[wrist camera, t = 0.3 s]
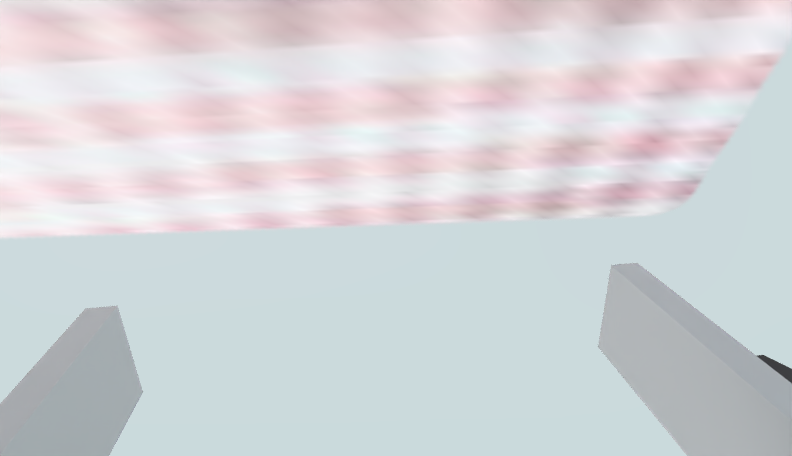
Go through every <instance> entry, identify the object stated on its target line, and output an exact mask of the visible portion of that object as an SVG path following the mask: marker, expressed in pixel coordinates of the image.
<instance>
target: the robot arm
mask: <svg viewBox="0 0 792 456" xmlns="http://www.w3.org/2000/svg"><path fill="white" fill-rule="evenodd" d="M598 347H599V349H600V350H601V351H602V352H603V354H604V355H605V356H606V357H607V358H608V359H609V361H610V362H611V363H612V365H613V366H614V367H615V368H616V369H617V371H618V372H619V373H620V374H621V375H622V376H623V378H624V379H625V380H626V381H627V383H628V384H629V385H630V386H631V388H632V389H633V390H634V391H635V392H636V394H637V395H638V396H639V397H640V399H641V400H642V401H643V402H644V403H645V405H646V406H647V407H648V408H649V410H650V411H651V412H652V413H653V414H654V416H655V417H656V418H657V419H658V421H659V422H660V423H661V424H662V425H663V427H664V428H665V429H666V430H667V431H668V433H669V434H670V435H671V436H672V438H673V439H674V440H675V441H676V442H677V443H678V445H679V446H680V447H681V448H682V450H683V451H684V452H685V453H686V454H687V456H792V369H791V368H789V367H786V366H785V365H783V364H781V363H778V362H777V361H775V360H772V359H770V358H768V357H766V356H764V355H759V356H756V355H754V354H753V353H752V352H751V351H749V350H748V349H747V348H746V347H744V346H743V345H742V344H740V343H739V342H738V341H737V340H735V339H734V338H733V337H731V336H730V335H729V334H728V333H726V332H725V331H724V330H723V329H721V328H720V327H719V326H717V325H716V324H715V323H713V322H712V321H711V320H709V319H708V318H707V317H706V316H704V315H703V314H702V313H701V312H699V311H698V310H697V309H696V308H694V307H693V306H692V305H690V304H689V303H688V302H687V301H685V300H684V299H683V298H681V297H680V296H679V295H677V294H676V293H675V292H674V291H673V290H671V289H670V288H669V287H667V286H666V285H665V284H664V283H662V282H661V281H660V280H658V279H657V278H656V277H654V276H653V275H652V274H651V273H649V272H648V271H647V270H645V269H644V268H643V267H642V266H640V265H639V264H638V263H630V264H618V265H611V269H610V275H609V282H608V289H607V295H606V301H605V307H604V313H603V320H602V326H601V332H600V338H599V345H598ZM142 393H143V391H142V388H141V384H140V381H139V378H138V374H137V371H136V367H135V364H134V360H133V357H132V354H131V351H130V347H129V343H128V340H127V337H126V334H125V330H124V327H123V323H122V320H121V316H120V313H119V309H118V307H117V306H111V307H99V308H87V309H85V310H84V311H83V312H82V313H81V314H80V315H79V317H78V318H77V319H76V320H75V321H74V322H73V323H72V324H71V325H70V327H69V328H68V329H67V330H66V331H65V332H64V333H63V334H62V336H61V337H60V338H59V339H58V340H57V341H56V342H55V343H54V344H53V346H52V347H51V348H50V349H49V350H48V351H47V352H46V353H45V355H44V356H43V357H42V358H41V359H40V360H39V361H38V362H37V364H36V365H35V366H34V367H33V368H32V369H31V370H30V371H29V373H28V374H27V375H26V376H25V377H24V378H23V379H22V380H21V381H20V383H19V384H18V385H17V386H16V387H15V388H14V389H13V390H12V392H11V393H10V394H9V395H8V396H7V397H6V398H5V399H4V400H3V402H2V403H1V404H0V456H109V455H110V453H111V451H112V449H113V447H114V445H115V444H116V442H117V440H118V438H119V436H120V434H121V432H122V430H123V429H124V427H125V425H126V423H127V421H128V419H129V417H130V415H131V413H132V412H133V410H134V408H135V406H136V404H137V402H138V400H139V398H140V397H141V395H142Z"/></svg>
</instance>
